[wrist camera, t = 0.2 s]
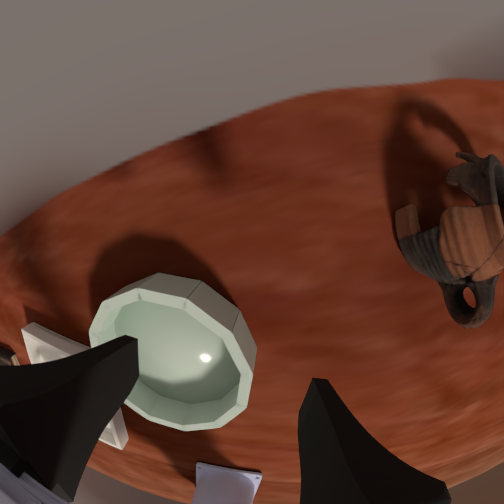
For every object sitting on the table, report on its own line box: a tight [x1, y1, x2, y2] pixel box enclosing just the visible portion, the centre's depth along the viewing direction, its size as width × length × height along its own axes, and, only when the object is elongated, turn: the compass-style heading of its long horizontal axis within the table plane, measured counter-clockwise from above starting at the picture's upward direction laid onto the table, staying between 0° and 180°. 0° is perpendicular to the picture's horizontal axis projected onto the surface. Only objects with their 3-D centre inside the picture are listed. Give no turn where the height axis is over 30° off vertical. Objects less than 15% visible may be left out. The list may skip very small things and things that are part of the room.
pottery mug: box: [395, 152, 504, 329], centre depth 15 cm, size 12×10×8 cm
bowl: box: [89, 273, 257, 431], centre depth 20 cm, size 13×13×4 cm
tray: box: [21, 322, 129, 450], centre depth 24 cm, size 14×12×2 cm
